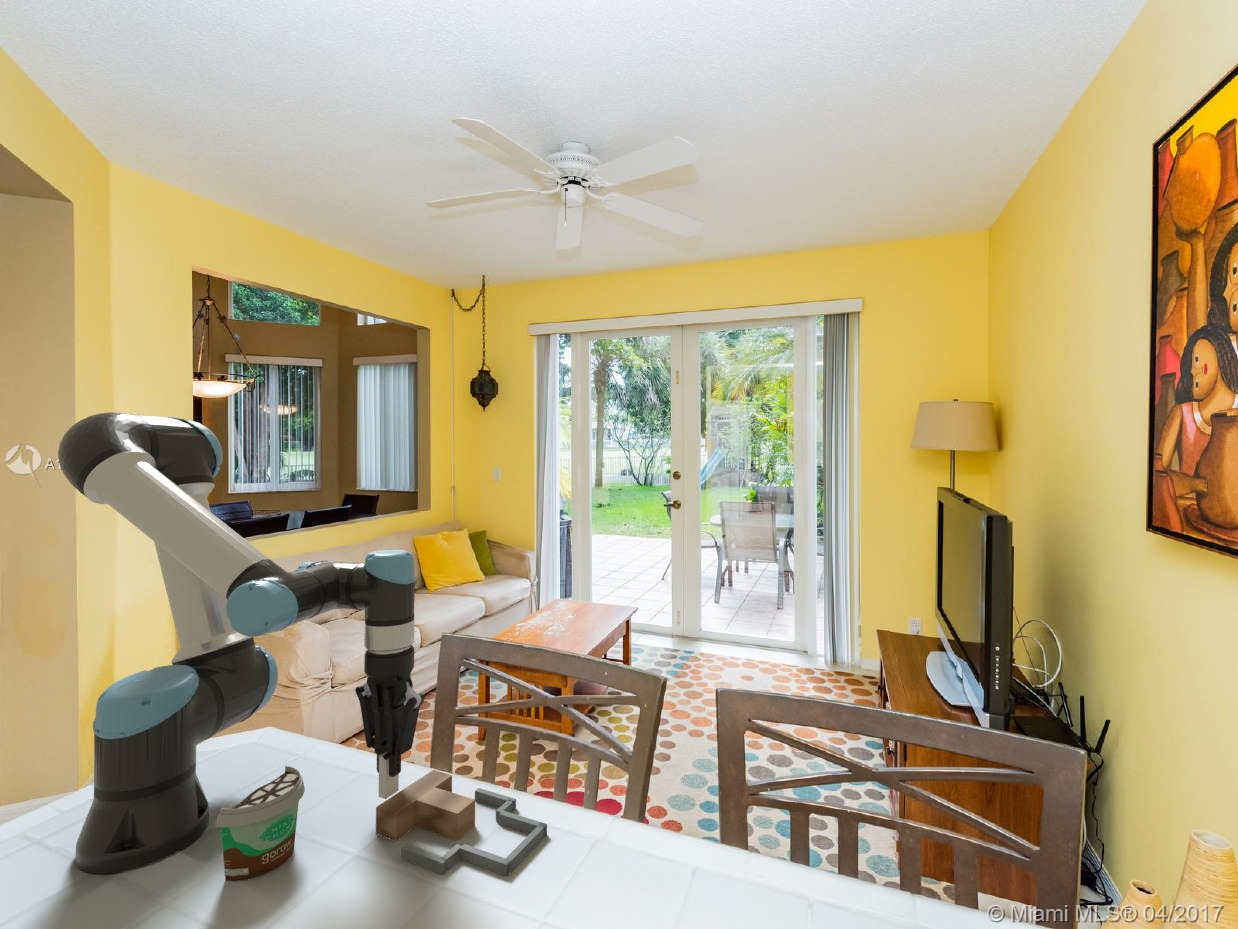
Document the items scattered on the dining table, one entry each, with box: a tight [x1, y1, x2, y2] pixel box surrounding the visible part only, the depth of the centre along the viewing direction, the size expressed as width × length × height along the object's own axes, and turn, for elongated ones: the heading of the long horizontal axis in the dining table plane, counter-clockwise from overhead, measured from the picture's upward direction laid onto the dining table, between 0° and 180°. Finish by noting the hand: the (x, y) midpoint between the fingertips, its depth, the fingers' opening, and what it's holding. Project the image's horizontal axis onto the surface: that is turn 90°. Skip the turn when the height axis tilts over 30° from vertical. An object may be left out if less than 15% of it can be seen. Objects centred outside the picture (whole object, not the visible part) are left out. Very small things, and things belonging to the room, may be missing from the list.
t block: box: [375, 769, 476, 842], centre depth 90 cm, size 12×12×4 cm
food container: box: [216, 765, 306, 882], centre depth 81 cm, size 12×6×10 cm, turn 168°
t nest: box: [400, 787, 548, 877], centre depth 86 cm, size 16×17×2 cm
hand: (388, 793), depth 94 cm, fingers closed
